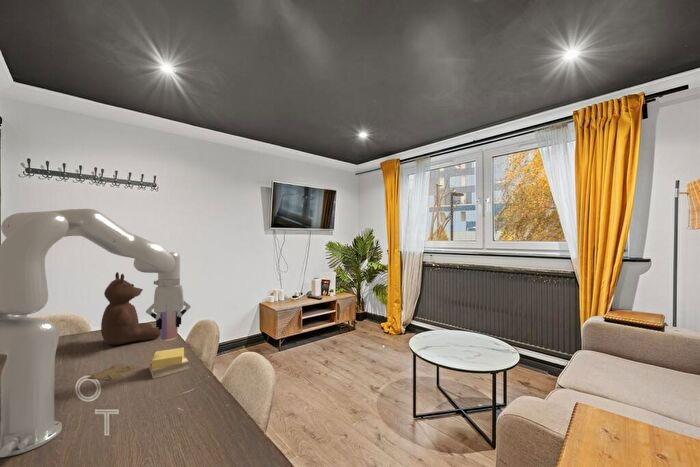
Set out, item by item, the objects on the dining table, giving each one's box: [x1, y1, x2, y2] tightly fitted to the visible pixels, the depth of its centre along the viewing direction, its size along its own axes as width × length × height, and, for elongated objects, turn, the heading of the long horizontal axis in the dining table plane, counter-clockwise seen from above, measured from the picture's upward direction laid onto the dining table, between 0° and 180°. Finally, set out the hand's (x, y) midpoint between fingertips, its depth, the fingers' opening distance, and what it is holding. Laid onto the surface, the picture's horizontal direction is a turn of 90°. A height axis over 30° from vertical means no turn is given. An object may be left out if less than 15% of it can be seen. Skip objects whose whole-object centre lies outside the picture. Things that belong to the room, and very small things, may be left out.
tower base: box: [148, 355, 190, 380], centre depth 119 cm, size 12×12×3 cm
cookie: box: [87, 363, 141, 382], centre depth 116 cm, size 12×12×1 cm
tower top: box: [151, 347, 185, 368], centre depth 119 cm, size 10×10×3 cm
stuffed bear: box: [100, 271, 160, 346], centre depth 152 cm, size 29×23×35 cm
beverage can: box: [159, 304, 179, 342], centre depth 119 cm, size 6×6×15 cm
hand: (168, 327), depth 119 cm, fingers closed on beverage can, 5 cm apart
